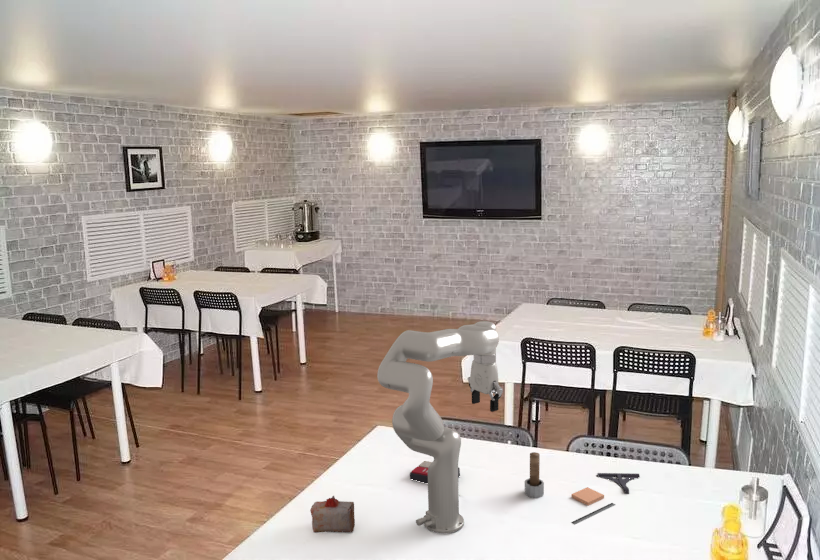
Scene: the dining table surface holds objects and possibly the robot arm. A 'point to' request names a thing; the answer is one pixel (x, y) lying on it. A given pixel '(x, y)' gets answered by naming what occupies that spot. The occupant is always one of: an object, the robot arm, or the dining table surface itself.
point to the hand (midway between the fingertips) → (484, 406)
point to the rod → (534, 468)
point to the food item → (333, 516)
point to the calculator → (423, 472)
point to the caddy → (534, 489)
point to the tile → (587, 496)
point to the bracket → (619, 479)
